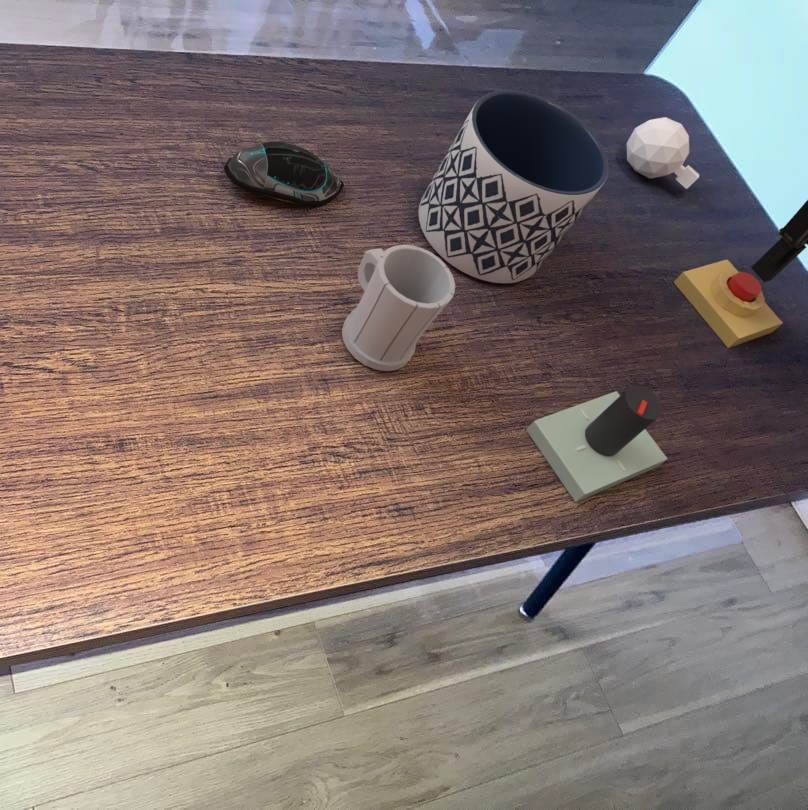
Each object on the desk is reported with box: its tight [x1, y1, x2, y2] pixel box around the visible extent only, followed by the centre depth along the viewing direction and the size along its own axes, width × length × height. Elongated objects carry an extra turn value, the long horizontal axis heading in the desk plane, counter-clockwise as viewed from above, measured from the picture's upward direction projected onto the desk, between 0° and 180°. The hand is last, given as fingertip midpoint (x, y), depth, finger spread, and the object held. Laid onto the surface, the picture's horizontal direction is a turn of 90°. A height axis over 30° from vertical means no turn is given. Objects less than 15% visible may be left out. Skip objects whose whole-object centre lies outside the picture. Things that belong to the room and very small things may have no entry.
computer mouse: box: [223, 141, 345, 209], centre depth 114 cm, size 9×17×6 cm, turn 103°
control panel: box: [525, 390, 668, 503], centre depth 105 cm, size 14×10×2 cm
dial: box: [585, 385, 663, 456], centre depth 101 cm, size 4×4×8 cm
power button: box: [727, 271, 763, 302], centre depth 124 cm, size 4×4×2 cm
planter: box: [417, 89, 609, 284], centre depth 115 cm, size 18×18×16 cm
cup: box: [341, 244, 456, 372], centre depth 101 cm, size 10×9×12 cm
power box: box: [673, 259, 784, 349], centre depth 126 cm, size 12×10×4 cm
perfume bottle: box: [626, 116, 700, 190], centre depth 138 cm, size 9×9×12 cm
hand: (760, 273), depth 122 cm, fingers closed
